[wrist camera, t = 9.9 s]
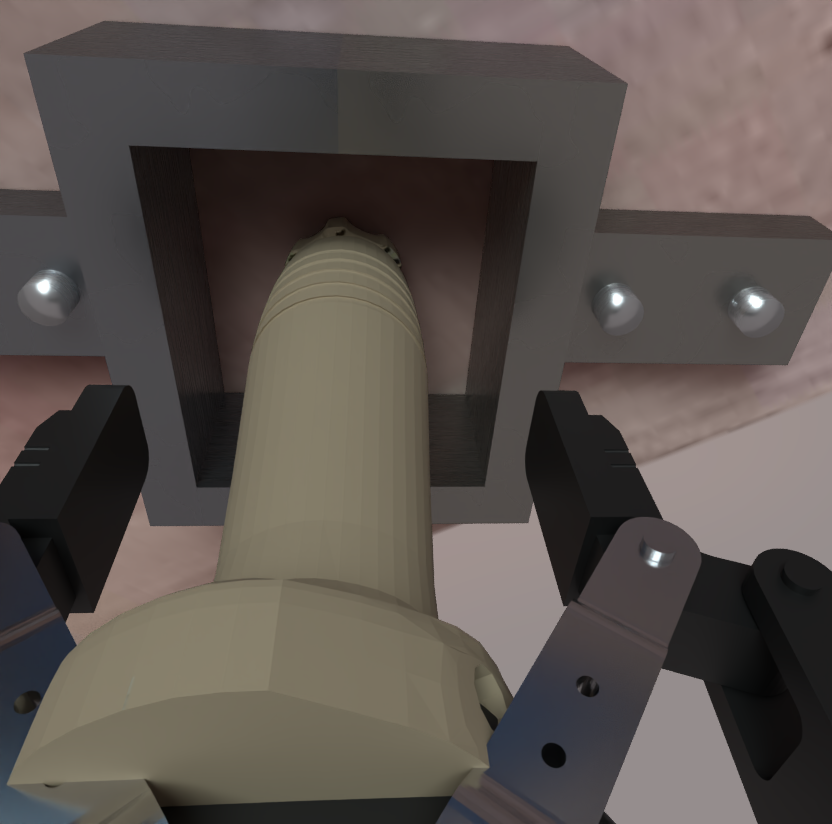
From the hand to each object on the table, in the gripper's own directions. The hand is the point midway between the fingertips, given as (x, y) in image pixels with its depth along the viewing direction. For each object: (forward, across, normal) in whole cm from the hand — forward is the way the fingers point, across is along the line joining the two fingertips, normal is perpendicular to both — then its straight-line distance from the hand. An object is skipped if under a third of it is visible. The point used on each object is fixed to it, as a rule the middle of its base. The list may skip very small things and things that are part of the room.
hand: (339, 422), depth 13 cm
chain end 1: (+7, +7, 0) cm, 10 cm away
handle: (+8, 0, 0) cm, 8 cm away
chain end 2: (+7, -7, 0) cm, 10 cm away
